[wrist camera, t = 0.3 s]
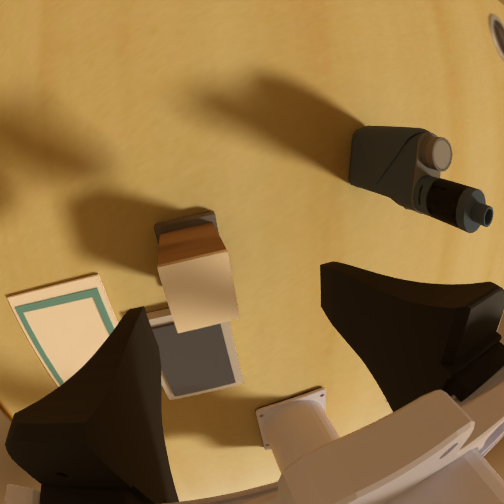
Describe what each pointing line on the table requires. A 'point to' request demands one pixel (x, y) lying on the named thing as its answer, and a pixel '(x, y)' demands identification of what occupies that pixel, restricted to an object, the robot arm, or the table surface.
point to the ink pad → (194, 357)
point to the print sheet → (65, 323)
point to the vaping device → (415, 175)
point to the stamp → (195, 272)
